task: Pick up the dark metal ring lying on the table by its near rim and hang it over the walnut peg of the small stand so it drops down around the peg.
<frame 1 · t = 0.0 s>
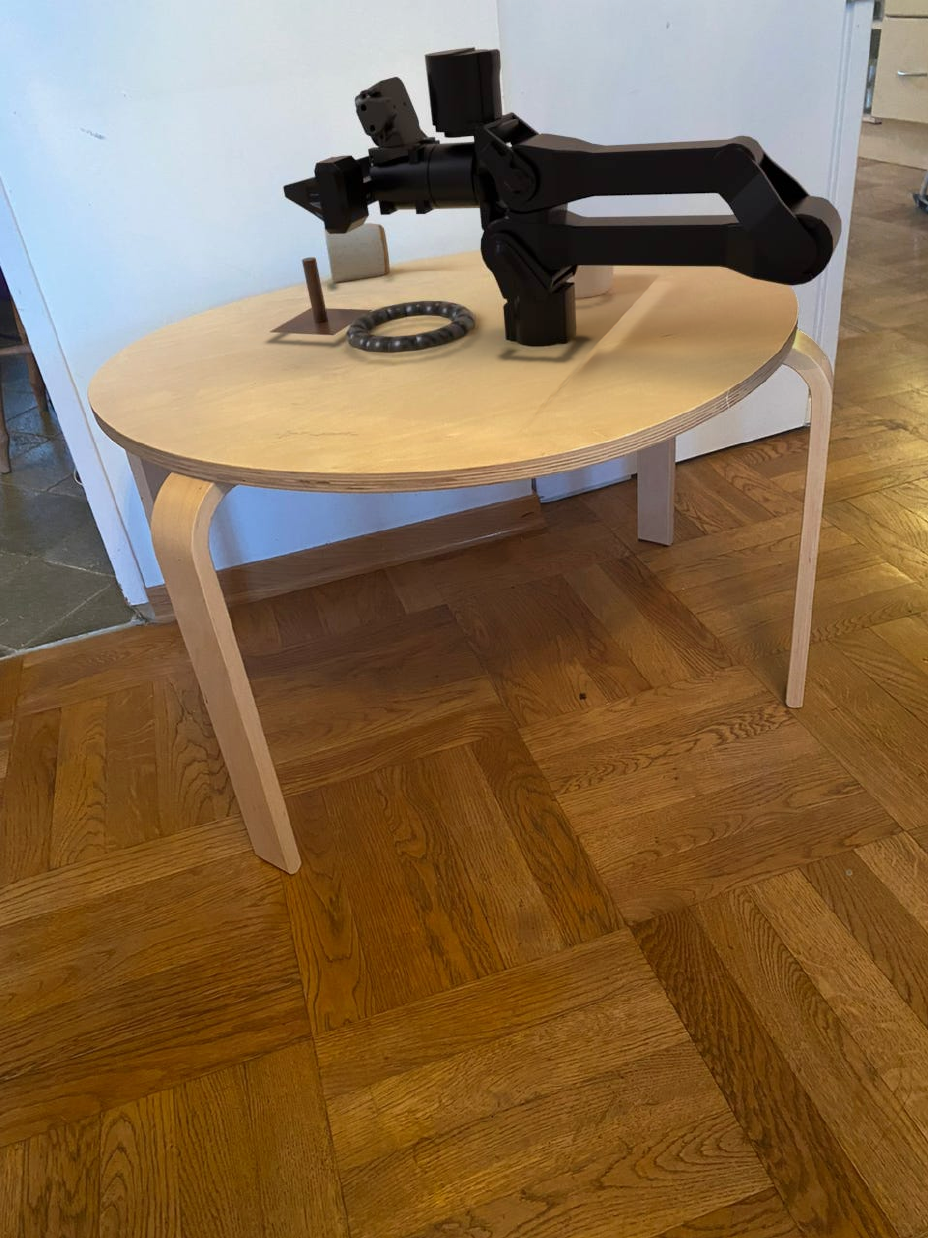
hand: (309, 181, 91), 17 cm above the table, tool horizontal, fingers open, 9 cm apart
teacup: (579, 298, 104), on the table
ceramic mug: (359, 281, 121), on the table
peg stand: (323, 330, 104), on the table
ring: (410, 328, 97), point 1 cm above the table
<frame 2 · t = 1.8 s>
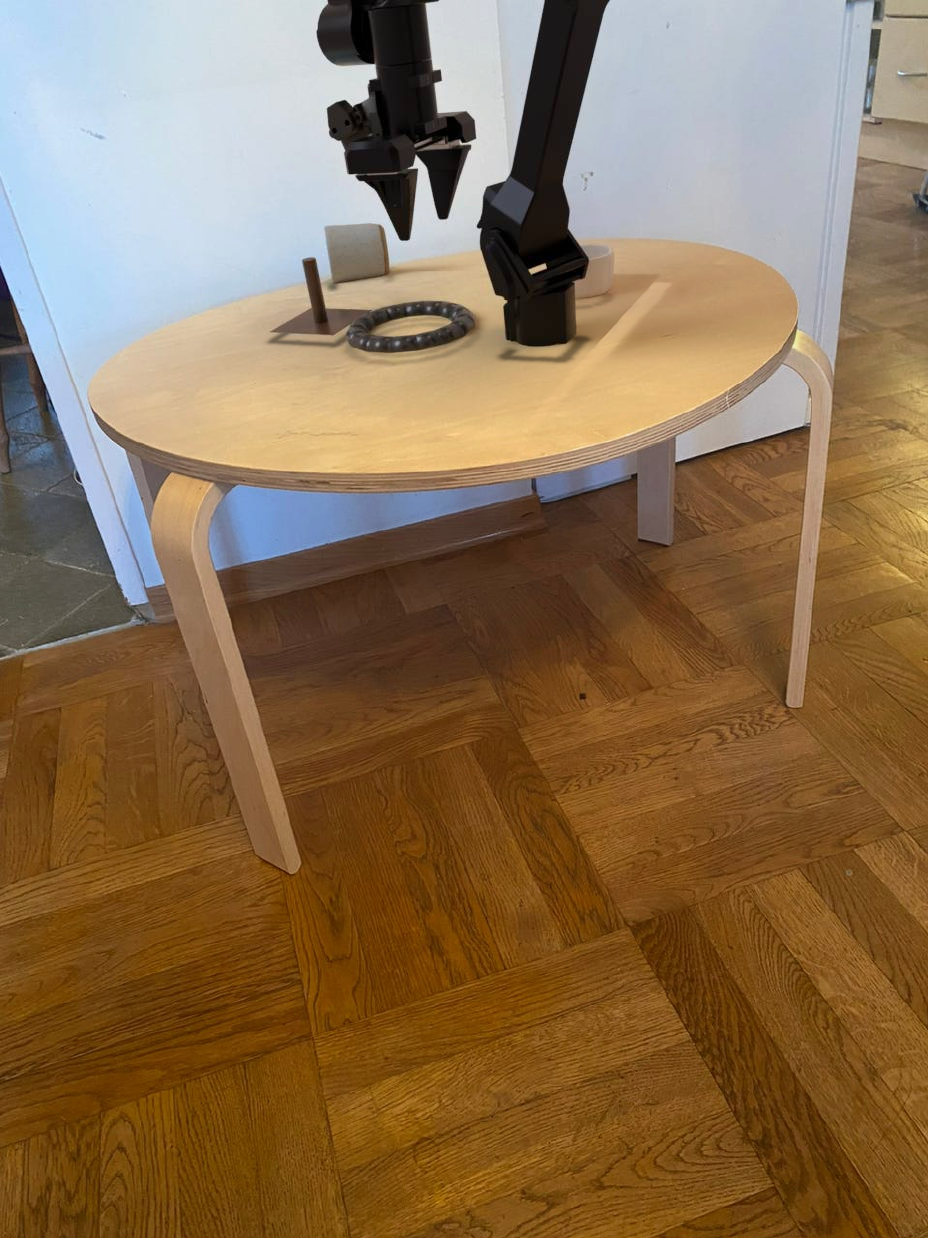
hand: (424, 229, 96), 10 cm above the table, tool pointing down, fingers open, 9 cm apart
nothing on the table moved.
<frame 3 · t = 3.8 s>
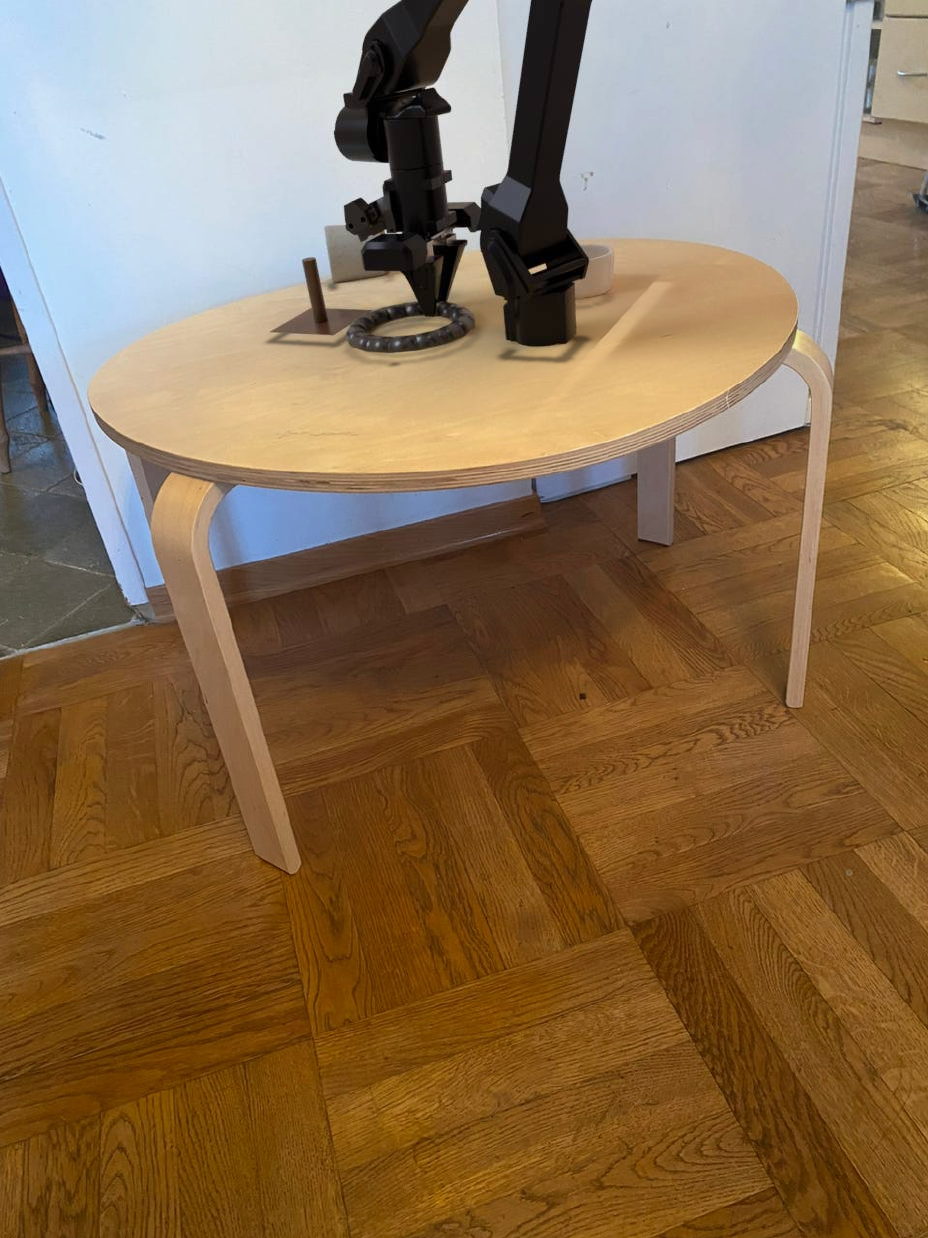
hand: (435, 313, 101), 1 cm above the table, tool pointing down, fingers closed on ring, 2 cm apart
ring: (410, 328, 97), point 1 cm above the table, touching gripper
everything else where it was.
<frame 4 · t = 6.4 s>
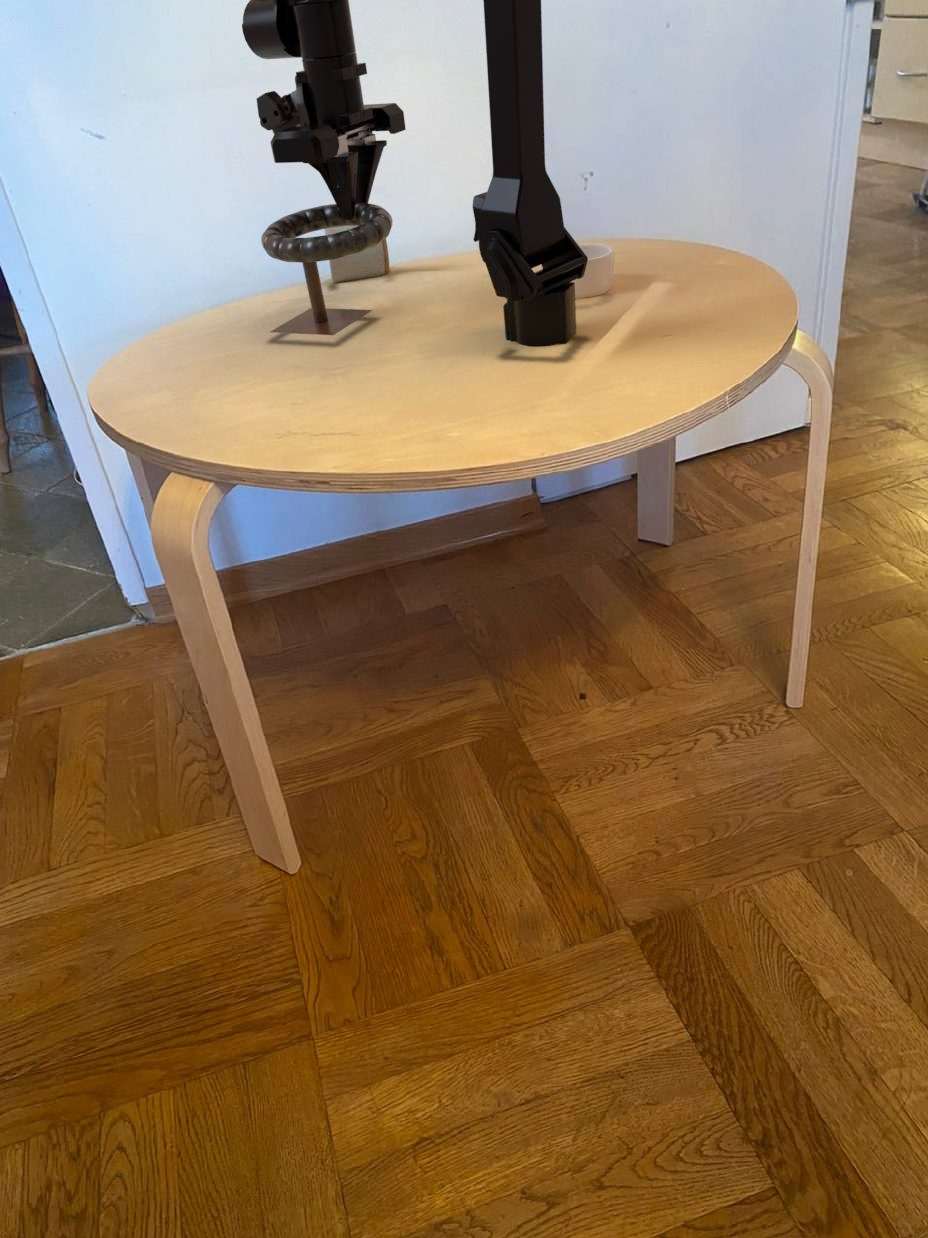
hand: (354, 216, 100), 11 cm above the table, tool pointing down, fingers closed on ring, 2 cm apart
ring: (327, 231, 96), point 11 cm above the table, touching gripper
everything else where it was.
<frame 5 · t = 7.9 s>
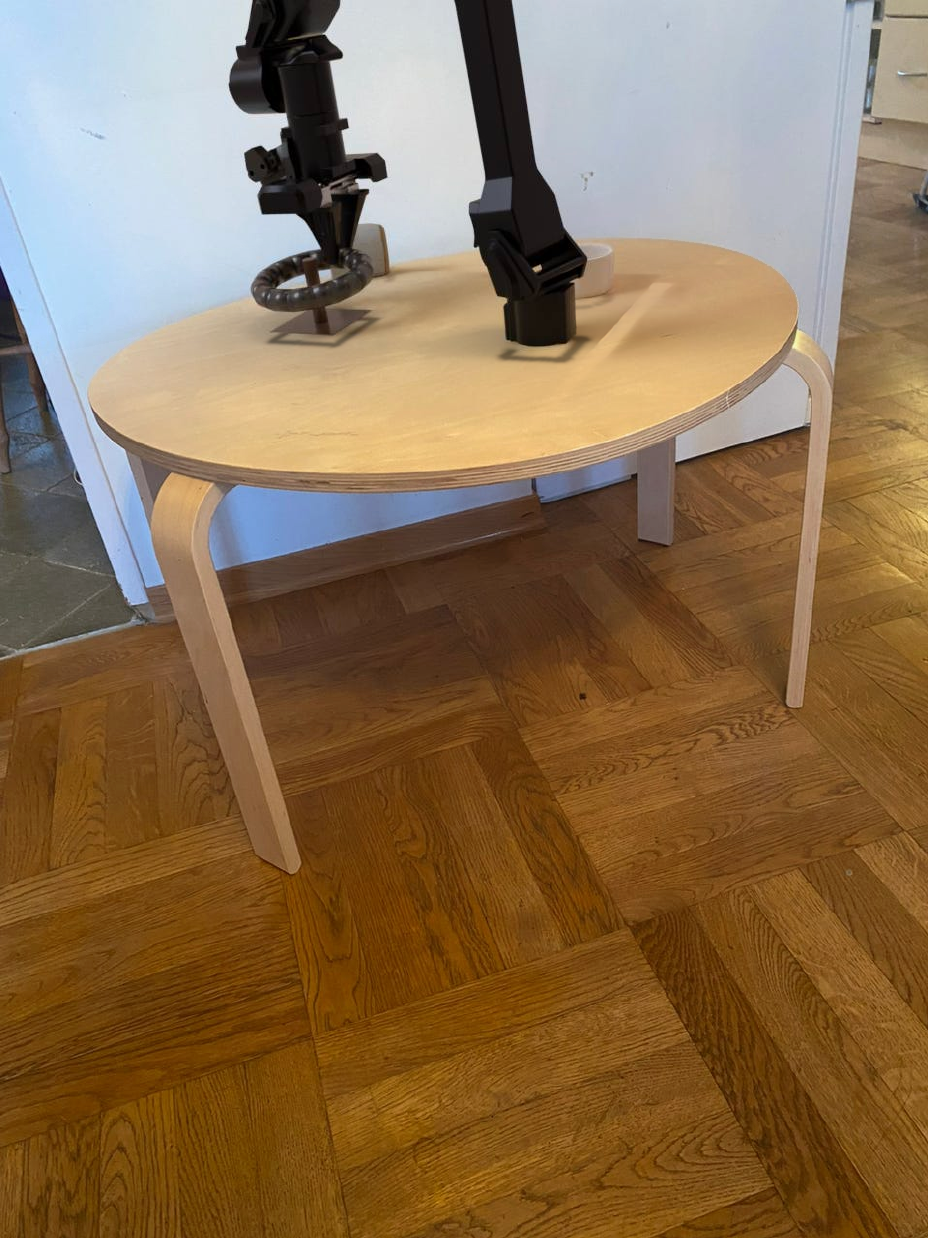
hand: (339, 261, 104), 6 cm above the table, tool pointing down, fingers closed on ring, 2 cm apart
ring: (313, 278, 100), point 6 cm above the table, tilted 6°, touching gripper
everything else where it was.
when the fingers open (3 cm above the table, at t = 9.0 s): ring stays where it is, resting on peg stand.
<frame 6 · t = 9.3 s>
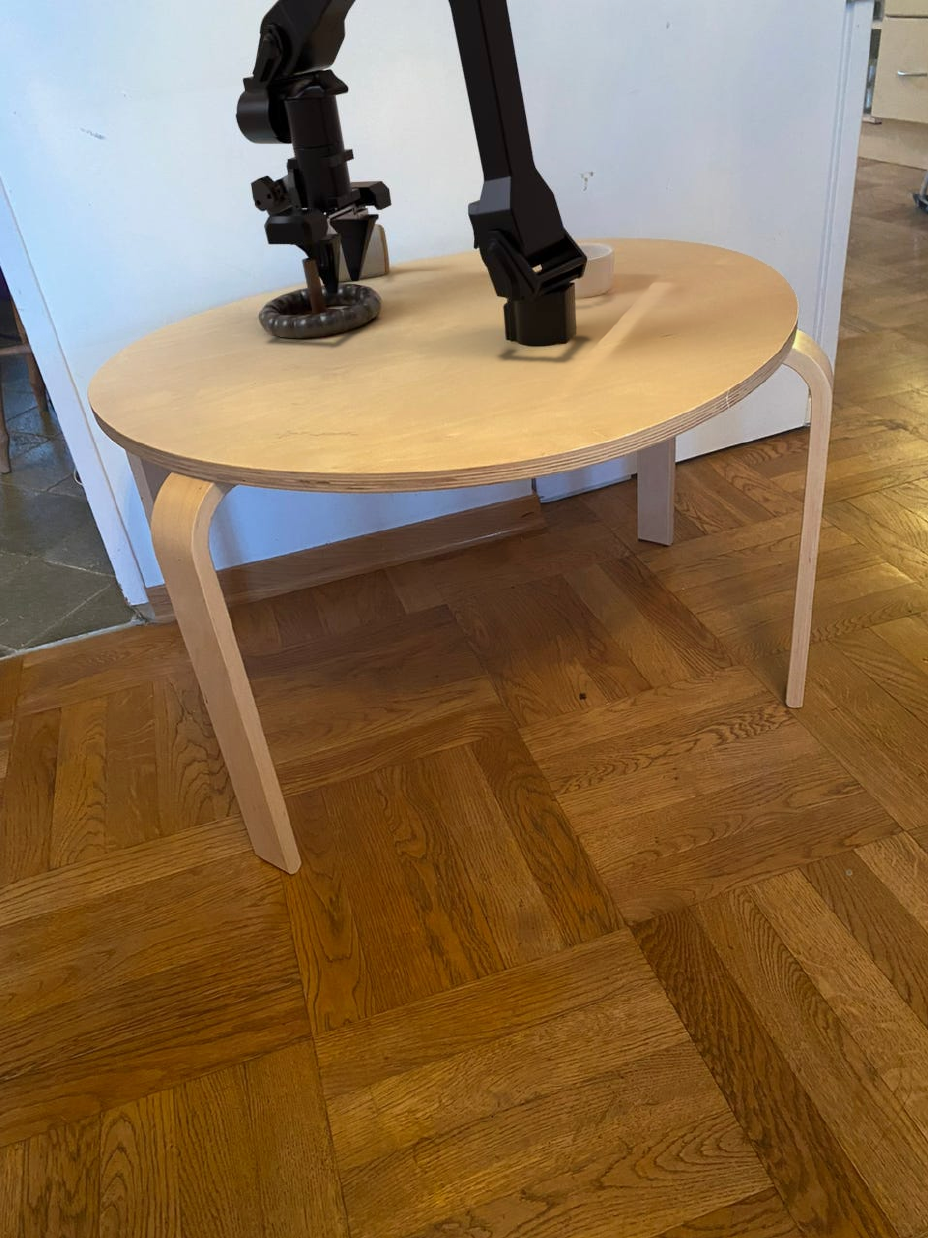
hand: (344, 287, 106), 3 cm above the table, tool pointing down, fingers open, 5 cm apart
ring: (320, 309, 103), point 2 cm above the table, touching peg stand
everything else where it was.
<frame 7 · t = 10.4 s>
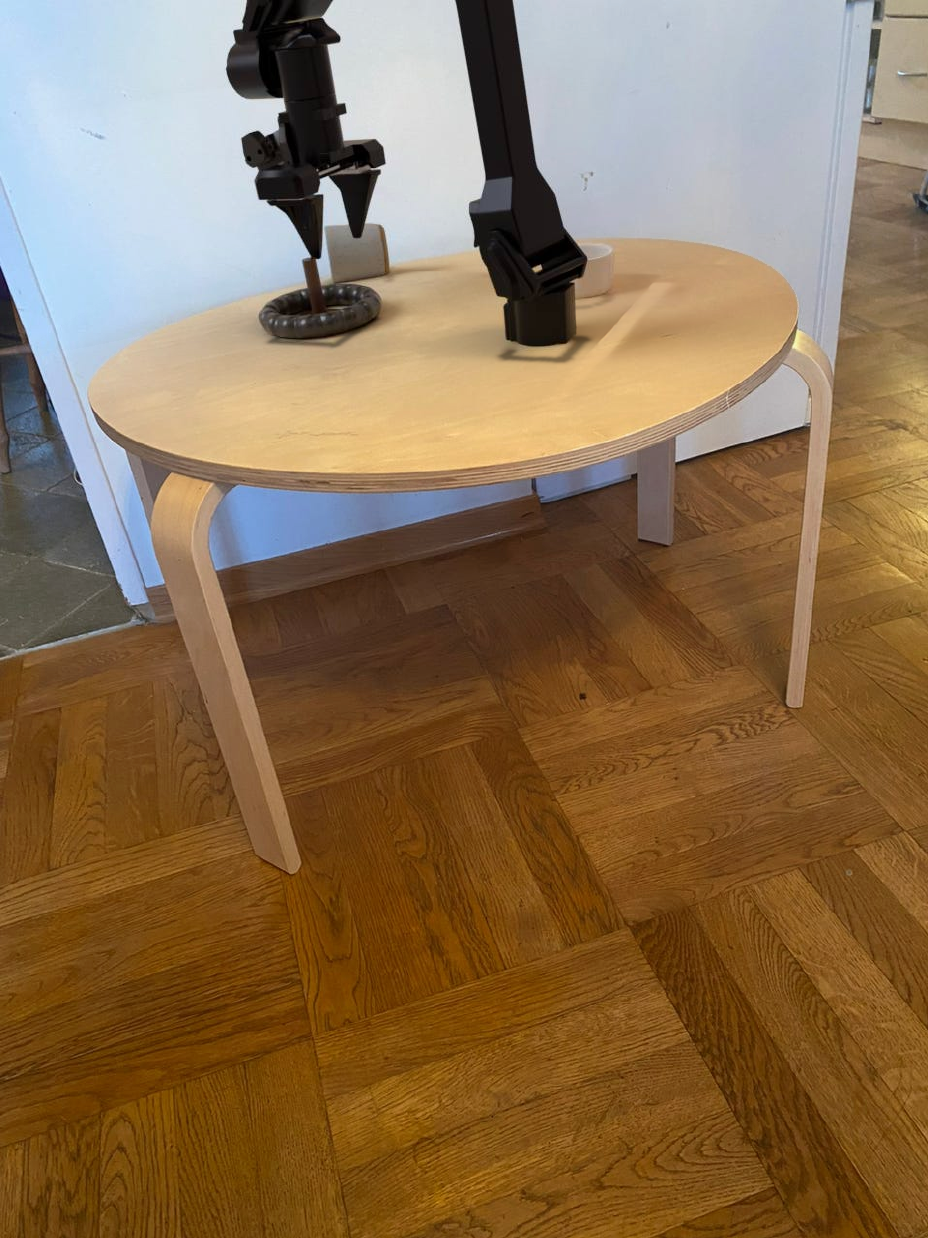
hand: (337, 247, 104), 8 cm above the table, tool pointing down, fingers open, 9 cm apart
nothing on the table moved.
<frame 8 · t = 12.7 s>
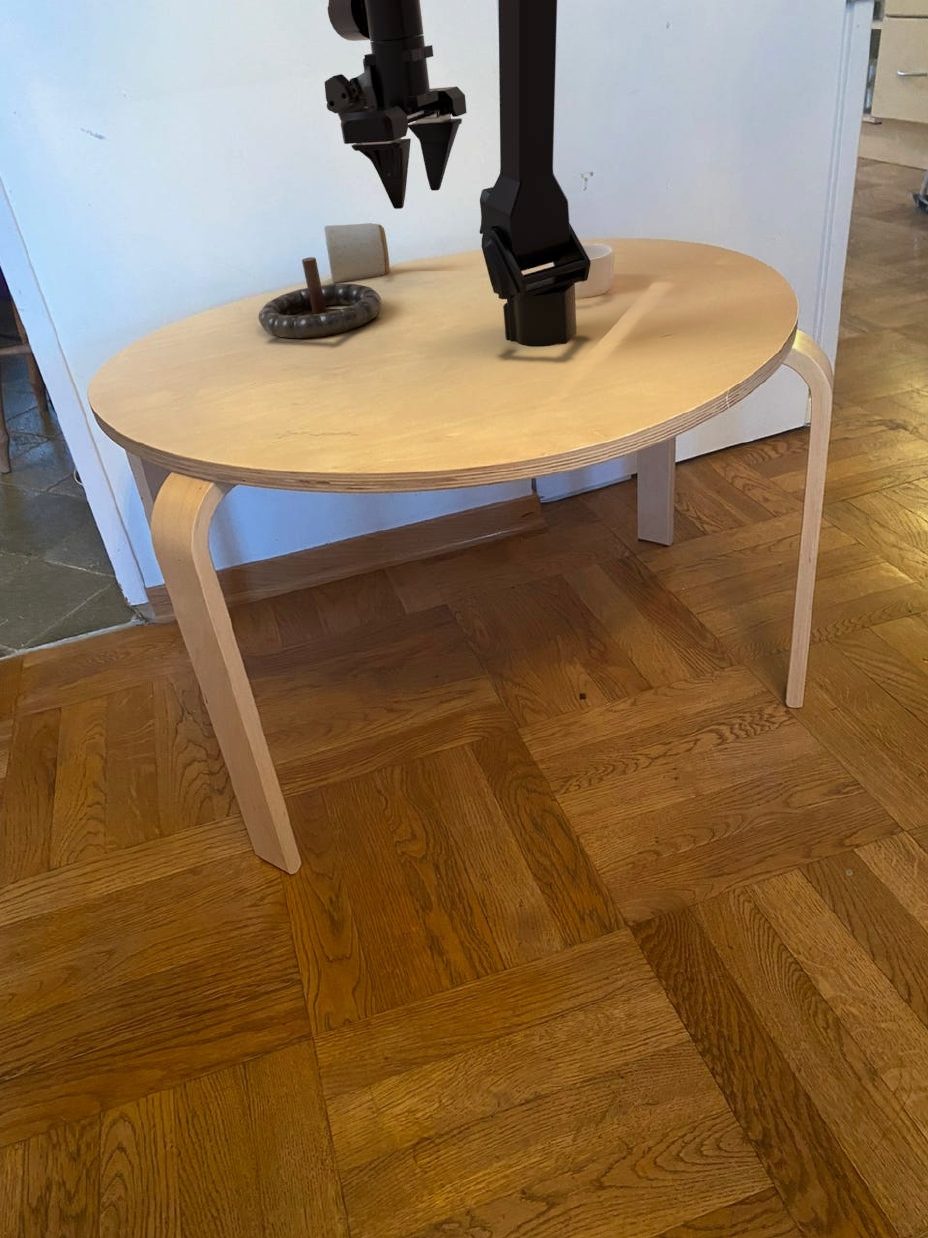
hand: (417, 198, 101), 12 cm above the table, tool pointing down, fingers open, 9 cm apart
nothing on the table moved.
at the end: ring 0.2 cm from the peg stand (horizontally); ring point 2.4 cm above the table; the gripper is holding nothing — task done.
